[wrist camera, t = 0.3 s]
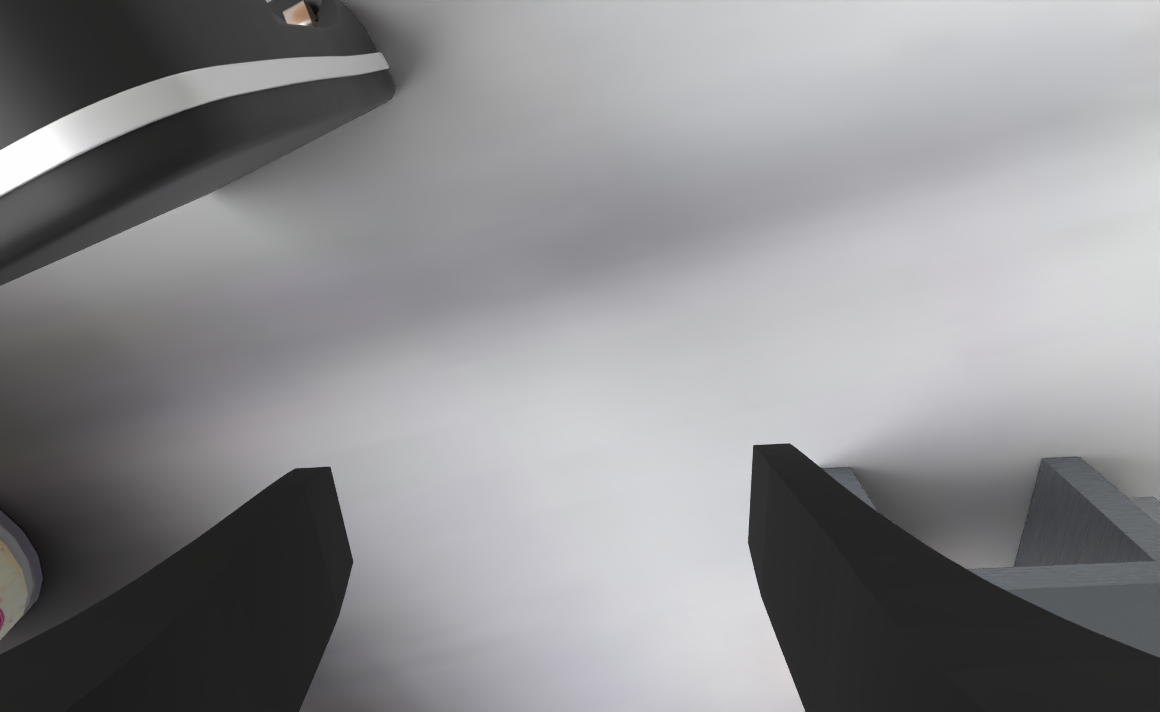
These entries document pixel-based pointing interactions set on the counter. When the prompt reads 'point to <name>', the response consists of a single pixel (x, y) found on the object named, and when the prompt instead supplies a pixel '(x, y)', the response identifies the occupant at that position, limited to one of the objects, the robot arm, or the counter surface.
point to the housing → (1082, 553)
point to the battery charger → (160, 107)
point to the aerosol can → (16, 574)
